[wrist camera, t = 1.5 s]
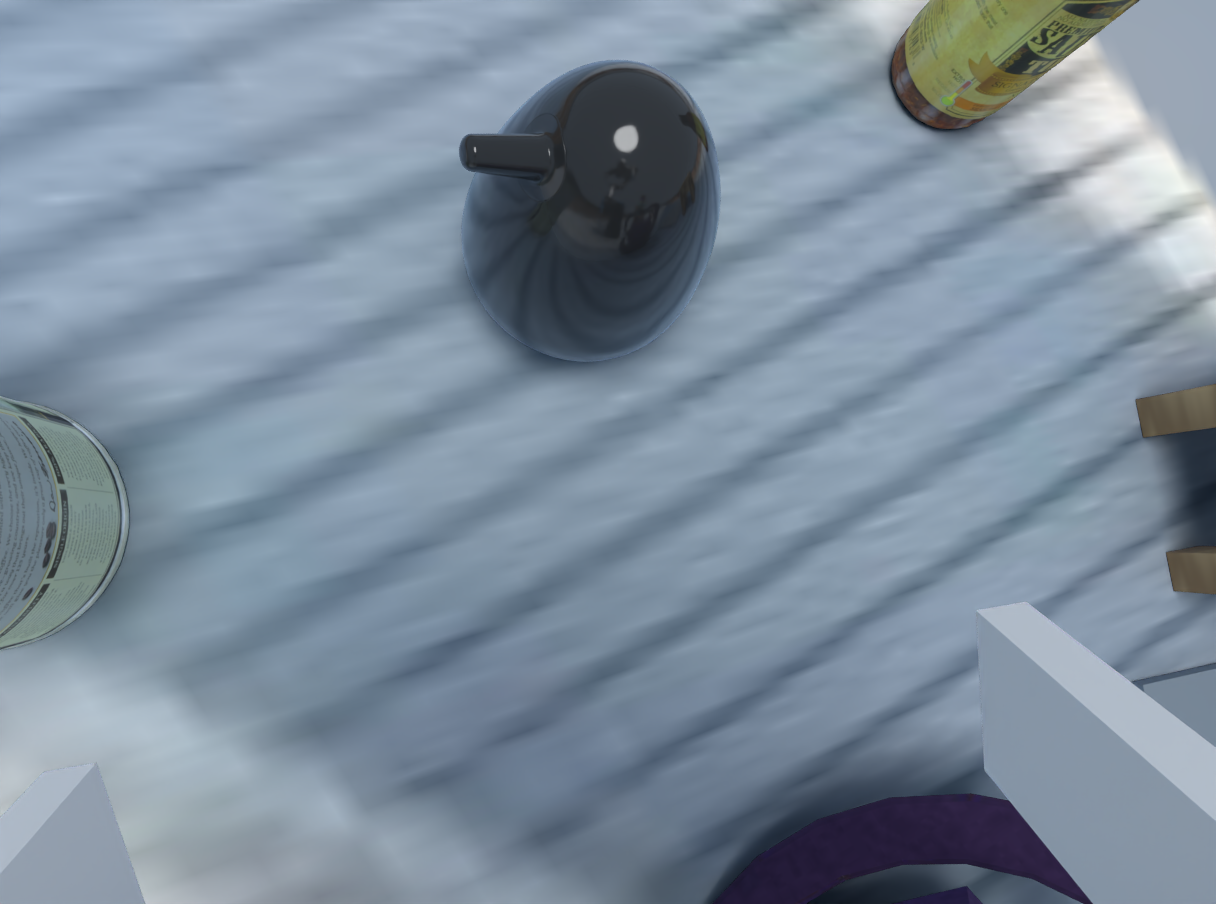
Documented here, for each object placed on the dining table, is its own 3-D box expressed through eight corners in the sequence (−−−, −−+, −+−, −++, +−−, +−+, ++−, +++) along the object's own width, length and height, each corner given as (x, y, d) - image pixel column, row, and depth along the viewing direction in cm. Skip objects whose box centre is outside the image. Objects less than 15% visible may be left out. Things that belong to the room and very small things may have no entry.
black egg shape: (438, 177, 40) (428, -37, 25) (655, 152, 42) (766, -59, 27) (477, 394, 39) (491, 308, 24) (695, 359, 41) (832, 260, 26)
